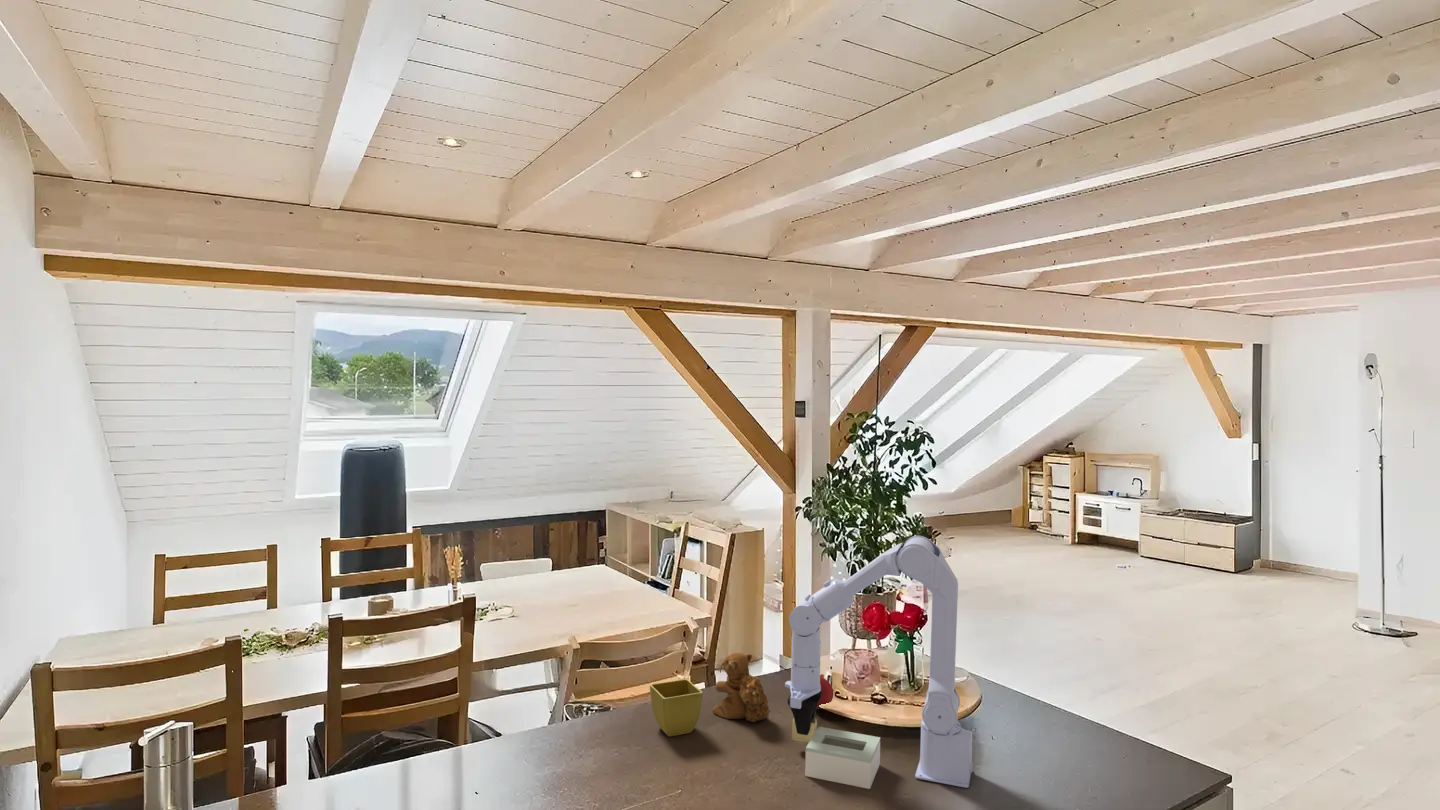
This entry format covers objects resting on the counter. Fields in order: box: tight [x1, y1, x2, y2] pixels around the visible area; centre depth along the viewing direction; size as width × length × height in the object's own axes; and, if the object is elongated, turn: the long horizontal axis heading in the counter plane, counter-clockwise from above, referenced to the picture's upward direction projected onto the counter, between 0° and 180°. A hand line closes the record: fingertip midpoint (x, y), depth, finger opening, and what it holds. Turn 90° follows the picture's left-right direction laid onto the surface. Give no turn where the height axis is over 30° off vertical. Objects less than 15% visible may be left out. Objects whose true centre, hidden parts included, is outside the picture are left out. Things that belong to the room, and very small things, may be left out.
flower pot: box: [649, 678, 704, 737], centre depth 167 cm, size 9×9×9 cm
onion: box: [816, 673, 834, 710], centre depth 179 cm, size 6×6×8 cm
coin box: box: [804, 726, 881, 790], centre depth 151 cm, size 12×10×5 cm
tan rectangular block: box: [791, 717, 818, 744], centre depth 159 cm, size 4×2×4 cm, turn 69°
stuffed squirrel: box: [712, 652, 772, 723], centre depth 175 cm, size 10×14×13 cm
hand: (804, 731), depth 159 cm, fingers closed on tan rectangular block, 2 cm apart
